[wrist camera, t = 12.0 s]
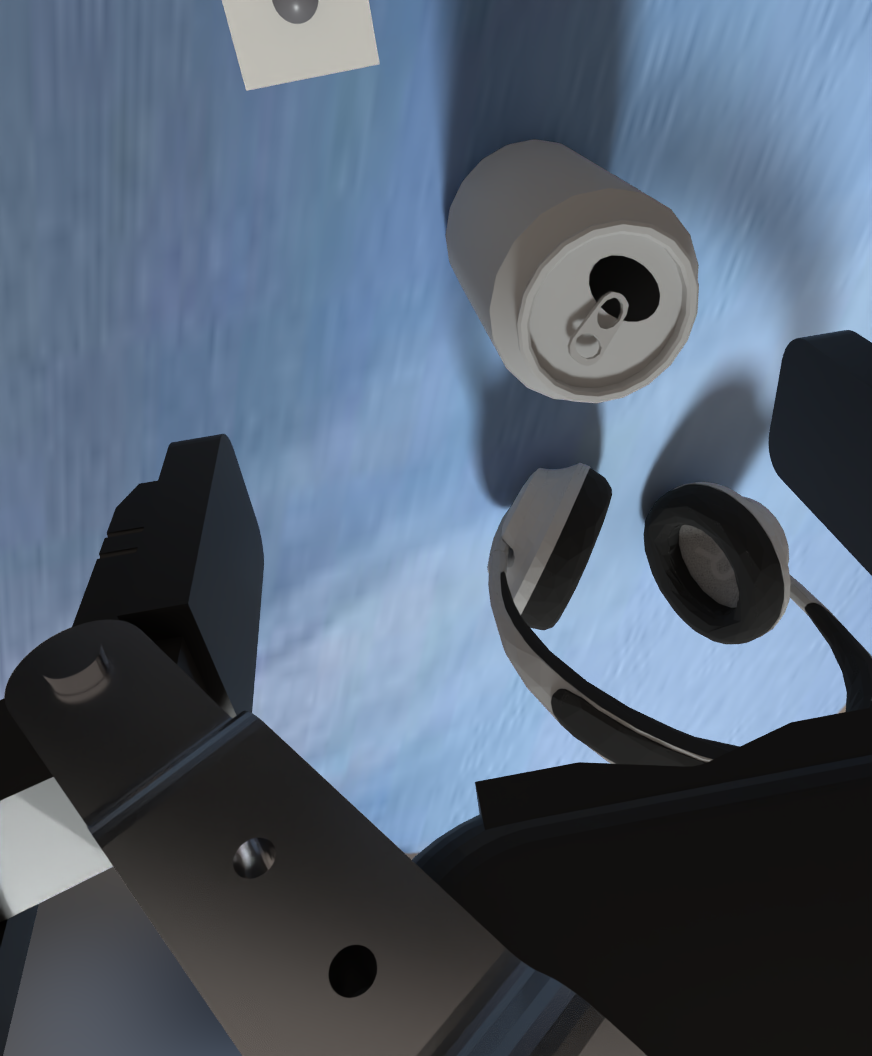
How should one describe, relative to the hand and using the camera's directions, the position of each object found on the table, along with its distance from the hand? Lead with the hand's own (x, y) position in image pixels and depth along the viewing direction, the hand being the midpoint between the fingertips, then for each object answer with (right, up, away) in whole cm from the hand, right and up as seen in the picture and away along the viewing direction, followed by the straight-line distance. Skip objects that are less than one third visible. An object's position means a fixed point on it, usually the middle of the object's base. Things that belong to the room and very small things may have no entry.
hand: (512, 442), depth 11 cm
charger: (-6, +19, +17) cm, 26 cm away
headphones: (+9, 0, +34) cm, 35 cm away
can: (+3, +13, +24) cm, 27 cm away
